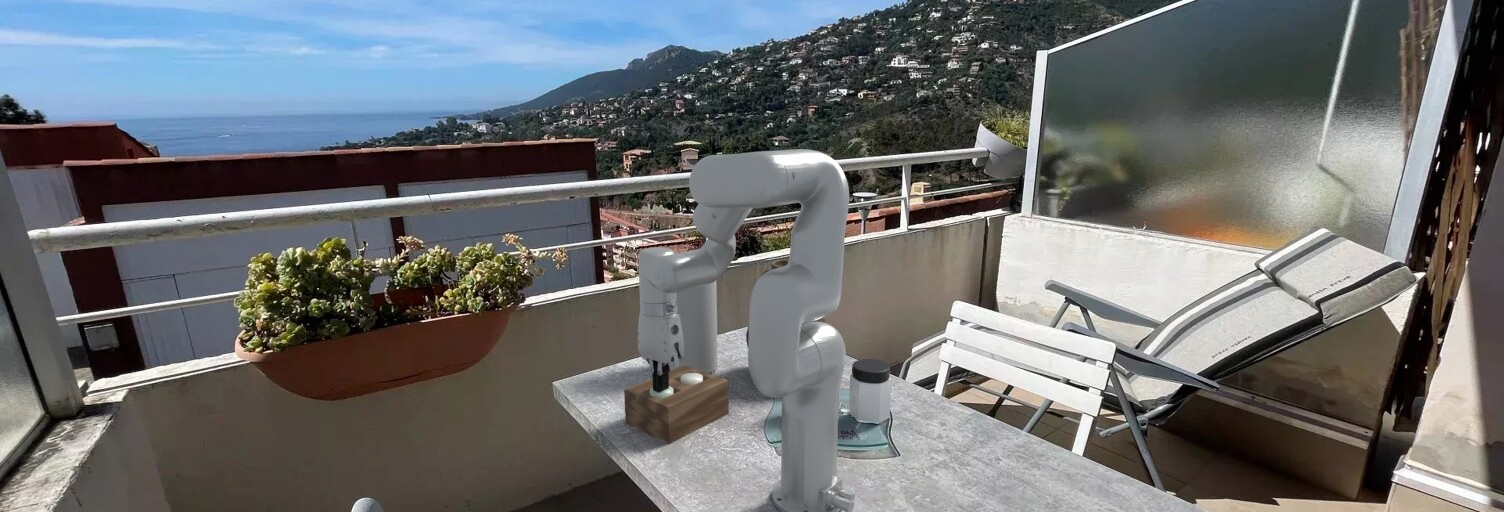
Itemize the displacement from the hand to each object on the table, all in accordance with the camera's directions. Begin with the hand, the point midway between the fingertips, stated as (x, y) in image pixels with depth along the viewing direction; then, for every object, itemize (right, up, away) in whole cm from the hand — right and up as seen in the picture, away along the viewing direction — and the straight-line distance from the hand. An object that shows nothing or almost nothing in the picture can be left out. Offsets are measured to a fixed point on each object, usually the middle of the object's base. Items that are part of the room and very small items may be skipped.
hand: (661, 389), depth 136 cm
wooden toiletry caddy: (+3, -7, +5) cm, 9 cm away
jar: (+46, -7, +6) cm, 47 cm away
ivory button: (+6, -3, +7) cm, 10 cm away
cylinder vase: (+4, -2, +34) cm, 34 cm away
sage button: (0, -4, +1) cm, 4 cm away
